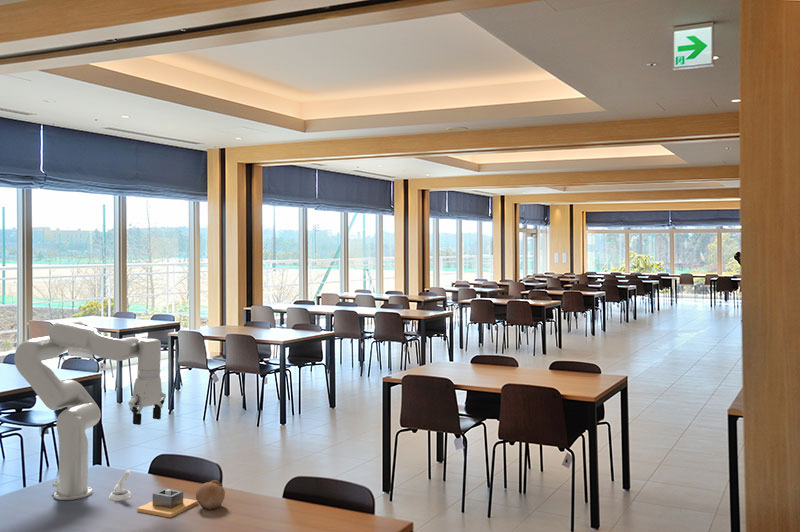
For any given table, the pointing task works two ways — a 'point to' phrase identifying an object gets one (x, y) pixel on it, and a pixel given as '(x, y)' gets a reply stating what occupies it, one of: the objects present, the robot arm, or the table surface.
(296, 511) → the table surface
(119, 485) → the hook
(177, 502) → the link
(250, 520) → the table surface
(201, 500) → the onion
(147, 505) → the wooden peg base
